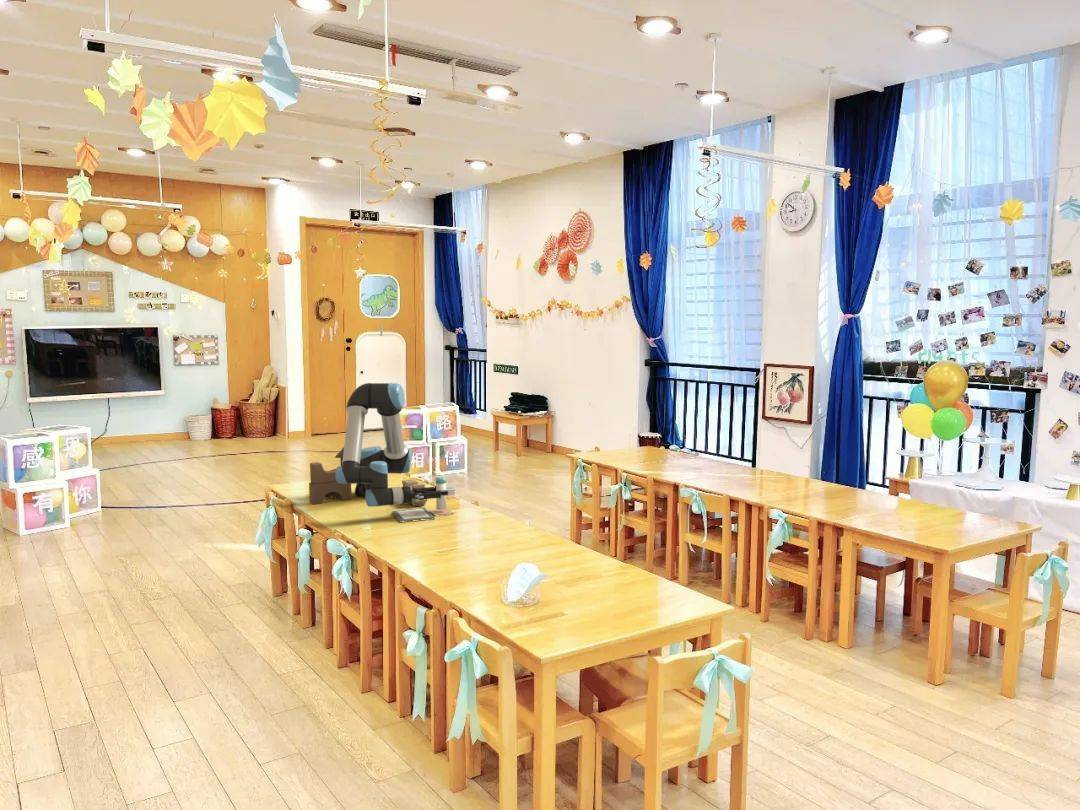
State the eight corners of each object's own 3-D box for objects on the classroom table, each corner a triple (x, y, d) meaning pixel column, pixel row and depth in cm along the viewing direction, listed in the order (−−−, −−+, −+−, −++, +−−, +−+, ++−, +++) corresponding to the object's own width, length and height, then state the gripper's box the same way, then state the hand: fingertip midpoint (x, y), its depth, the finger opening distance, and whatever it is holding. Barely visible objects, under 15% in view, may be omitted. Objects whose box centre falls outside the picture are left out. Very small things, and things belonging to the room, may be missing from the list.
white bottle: (435, 507, 359) (434, 477, 357) (445, 506, 361) (444, 476, 359) (437, 510, 355) (437, 479, 353) (447, 509, 356) (447, 478, 355)
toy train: (416, 508, 367) (415, 486, 366) (402, 500, 381) (401, 480, 380) (427, 506, 370) (426, 485, 368) (413, 498, 384) (412, 478, 383)
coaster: (429, 511, 360) (429, 510, 360) (448, 509, 364) (448, 508, 364) (434, 516, 352) (434, 515, 352) (453, 514, 356) (453, 513, 355)
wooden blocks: (347, 490, 402) (345, 435, 398) (362, 498, 386) (360, 441, 382) (299, 496, 388) (297, 440, 385) (312, 505, 372) (310, 446, 368)
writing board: (392, 512, 358) (392, 510, 358) (424, 509, 364) (424, 507, 364) (400, 522, 342) (400, 520, 342) (434, 519, 348) (434, 517, 347)
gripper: (397, 499, 358) (447, 494, 367) (406, 508, 342) (458, 503, 351) (397, 483, 357) (447, 478, 366) (405, 491, 341) (458, 486, 350)
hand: (452, 490), depth 359 cm, fingers closed on white bottle, 4 cm apart
